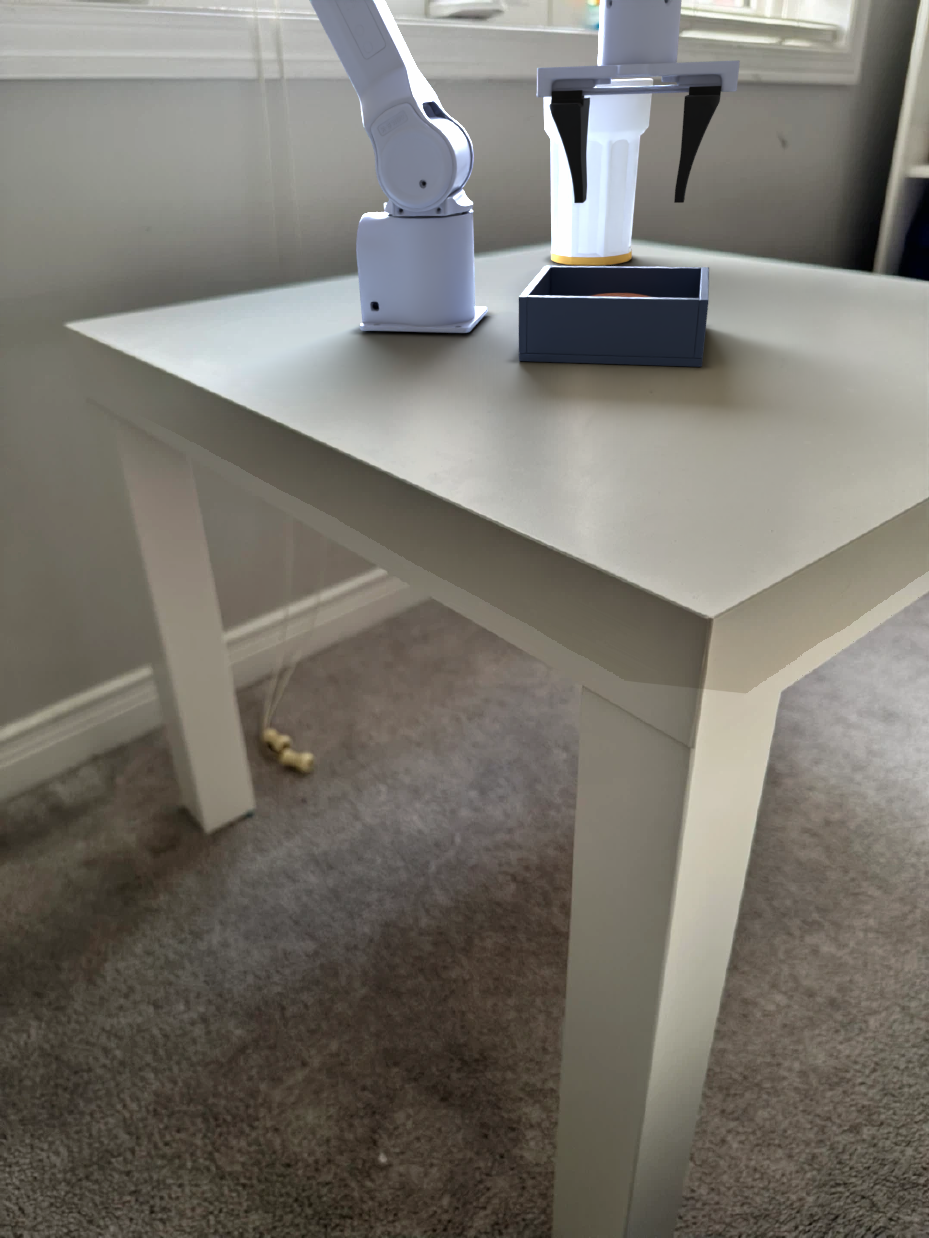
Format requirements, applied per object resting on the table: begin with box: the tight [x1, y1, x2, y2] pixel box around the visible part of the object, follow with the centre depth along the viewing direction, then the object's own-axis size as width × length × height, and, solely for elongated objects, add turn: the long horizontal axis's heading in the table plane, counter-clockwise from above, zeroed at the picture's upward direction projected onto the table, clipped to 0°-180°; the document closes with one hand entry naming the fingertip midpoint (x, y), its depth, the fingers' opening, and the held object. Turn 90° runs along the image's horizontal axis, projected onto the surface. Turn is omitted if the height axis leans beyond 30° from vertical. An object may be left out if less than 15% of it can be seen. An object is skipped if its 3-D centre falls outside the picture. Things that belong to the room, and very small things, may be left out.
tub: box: [518, 265, 710, 368], centre depth 70 cm, size 13×12×5 cm
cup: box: [543, 78, 654, 266], centre depth 99 cm, size 11×11×17 cm
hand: (629, 201), depth 71 cm, fingers open, 7 cm apart
